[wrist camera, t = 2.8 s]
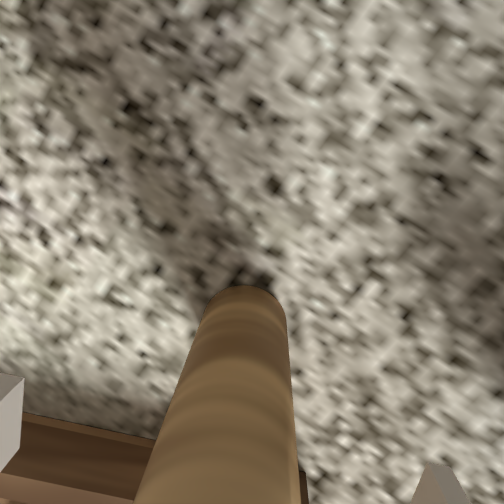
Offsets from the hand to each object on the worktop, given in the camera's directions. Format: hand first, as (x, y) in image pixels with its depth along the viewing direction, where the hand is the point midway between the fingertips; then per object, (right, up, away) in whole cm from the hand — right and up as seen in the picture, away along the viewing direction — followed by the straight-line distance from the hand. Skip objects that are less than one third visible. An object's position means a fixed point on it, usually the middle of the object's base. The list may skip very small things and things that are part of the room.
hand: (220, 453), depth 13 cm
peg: (+1, +3, +8) cm, 9 cm away
